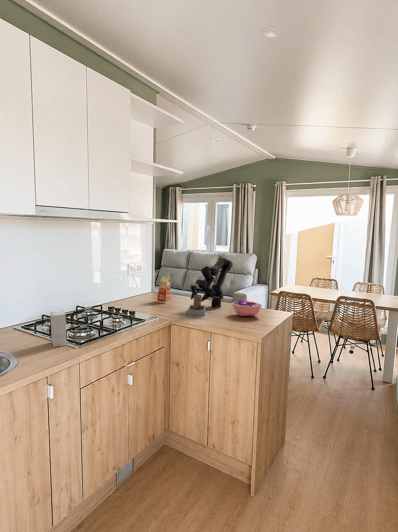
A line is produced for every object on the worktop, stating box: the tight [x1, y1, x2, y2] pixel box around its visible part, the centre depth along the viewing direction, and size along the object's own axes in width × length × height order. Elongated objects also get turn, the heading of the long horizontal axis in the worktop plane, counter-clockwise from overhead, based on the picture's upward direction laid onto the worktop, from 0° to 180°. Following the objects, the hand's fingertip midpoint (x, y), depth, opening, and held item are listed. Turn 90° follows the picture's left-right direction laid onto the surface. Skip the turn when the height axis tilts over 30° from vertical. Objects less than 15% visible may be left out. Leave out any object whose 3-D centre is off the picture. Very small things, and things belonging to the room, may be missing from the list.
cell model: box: [231, 298, 263, 317], centre depth 225 cm, size 17×20×11 cm
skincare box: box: [50, 310, 68, 348], centre depth 159 cm, size 8×6×15 cm
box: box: [187, 304, 207, 317], centre depth 229 cm, size 11×15×4 cm
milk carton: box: [156, 275, 172, 304], centre depth 260 cm, size 9×9×20 cm
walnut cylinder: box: [192, 294, 202, 310], centre depth 229 cm, size 5×5×11 cm
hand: (196, 300), depth 228 cm, fingers open, 9 cm apart
